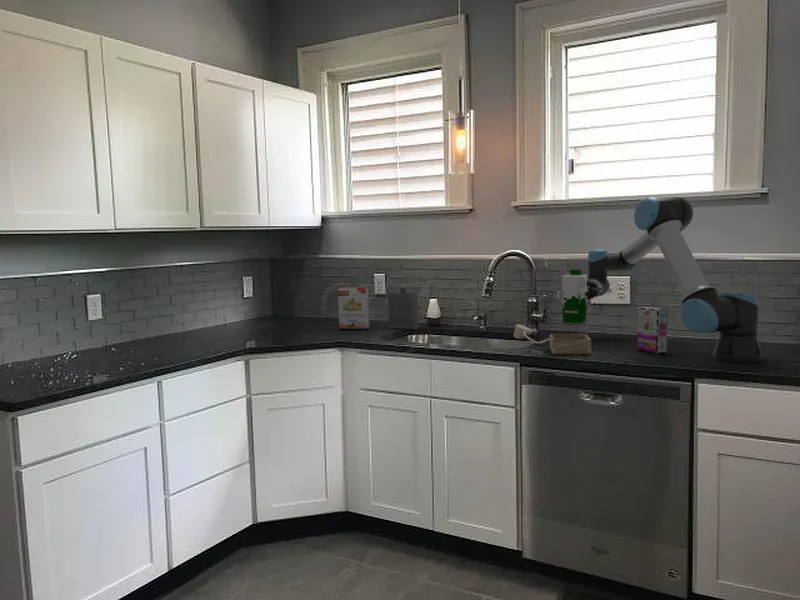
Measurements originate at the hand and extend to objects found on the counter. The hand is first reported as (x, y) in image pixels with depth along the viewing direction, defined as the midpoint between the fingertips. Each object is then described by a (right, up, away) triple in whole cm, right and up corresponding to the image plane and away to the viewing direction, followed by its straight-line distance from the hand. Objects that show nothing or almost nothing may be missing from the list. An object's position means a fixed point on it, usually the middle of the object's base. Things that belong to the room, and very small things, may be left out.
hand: (569, 294), depth 254 cm
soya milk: (+3, -11, +5) cm, 12 cm away
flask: (-62, -16, +77) cm, 100 cm away
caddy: (+1, -22, +3) cm, 22 cm away
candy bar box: (+31, -21, -1) cm, 37 cm away
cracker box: (-86, -17, +78) cm, 117 cm away
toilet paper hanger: (-8, -19, +35) cm, 41 cm away
